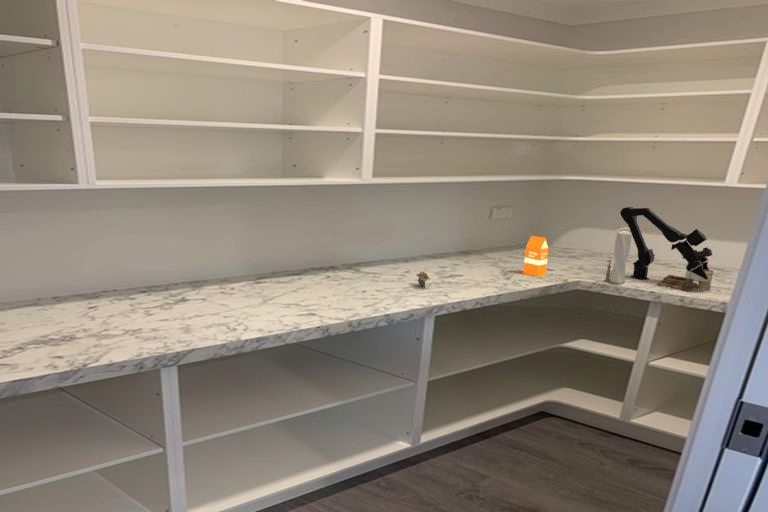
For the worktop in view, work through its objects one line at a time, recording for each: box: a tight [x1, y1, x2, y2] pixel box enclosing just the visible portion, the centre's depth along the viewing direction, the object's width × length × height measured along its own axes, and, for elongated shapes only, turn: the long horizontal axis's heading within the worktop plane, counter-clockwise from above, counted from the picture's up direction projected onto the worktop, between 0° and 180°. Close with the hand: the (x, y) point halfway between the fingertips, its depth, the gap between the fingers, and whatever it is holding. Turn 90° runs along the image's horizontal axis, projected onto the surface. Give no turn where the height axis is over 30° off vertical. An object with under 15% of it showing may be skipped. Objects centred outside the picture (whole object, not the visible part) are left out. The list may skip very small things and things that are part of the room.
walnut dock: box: [656, 274, 699, 292], centre depth 252 cm, size 14×18×4 cm
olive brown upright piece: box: [415, 271, 431, 289], centre depth 231 cm, size 12×18×7 cm, turn 17°
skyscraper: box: [604, 227, 633, 285], centre depth 250 cm, size 8×8×28 cm
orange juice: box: [523, 235, 549, 277], centre depth 262 cm, size 8×9×20 cm
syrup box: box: [685, 262, 700, 282], centre depth 263 cm, size 6×6×14 cm
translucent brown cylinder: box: [697, 269, 714, 292], centre depth 243 cm, size 5×5×10 cm
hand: (709, 277), depth 242 cm, fingers open, 8 cm apart
